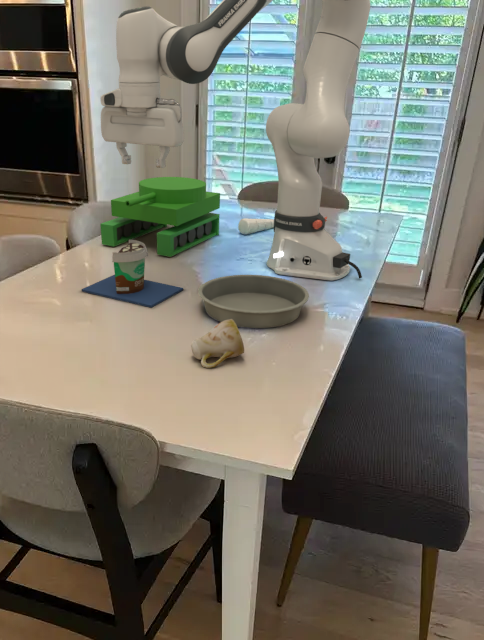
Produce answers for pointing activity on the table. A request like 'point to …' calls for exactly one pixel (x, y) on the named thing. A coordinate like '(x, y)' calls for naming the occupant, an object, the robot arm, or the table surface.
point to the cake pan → (253, 300)
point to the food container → (130, 267)
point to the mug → (219, 343)
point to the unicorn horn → (254, 225)
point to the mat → (146, 297)
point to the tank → (165, 214)
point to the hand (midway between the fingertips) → (143, 165)
